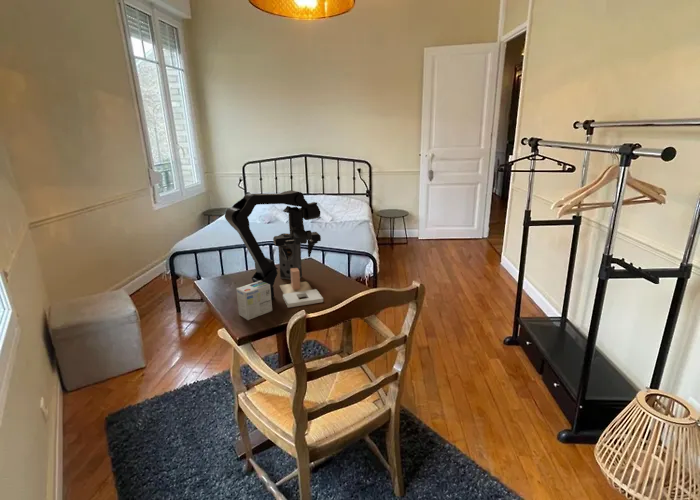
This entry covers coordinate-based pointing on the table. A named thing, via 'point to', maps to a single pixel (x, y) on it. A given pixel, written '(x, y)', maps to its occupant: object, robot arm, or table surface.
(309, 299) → the white slotted plate
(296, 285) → the plug
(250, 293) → the light bulb box
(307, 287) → the pad
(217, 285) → the table surface
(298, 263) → the electronic device
